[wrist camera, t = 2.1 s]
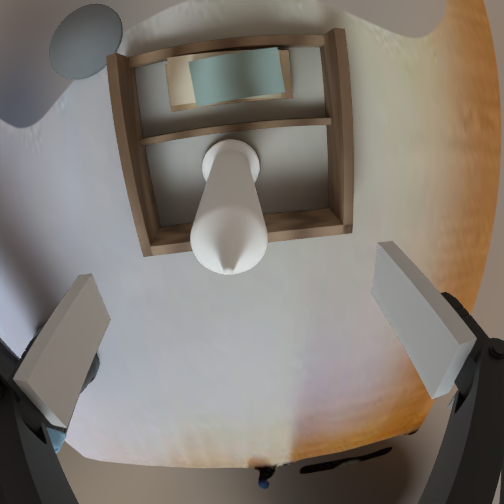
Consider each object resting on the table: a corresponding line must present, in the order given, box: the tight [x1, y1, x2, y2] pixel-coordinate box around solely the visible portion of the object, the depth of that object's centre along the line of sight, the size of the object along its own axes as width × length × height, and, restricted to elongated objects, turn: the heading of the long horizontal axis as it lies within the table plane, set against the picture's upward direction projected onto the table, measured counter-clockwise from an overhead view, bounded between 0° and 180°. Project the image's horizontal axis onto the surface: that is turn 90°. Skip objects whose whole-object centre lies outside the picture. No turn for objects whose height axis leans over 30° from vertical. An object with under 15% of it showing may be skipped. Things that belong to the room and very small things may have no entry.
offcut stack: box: [165, 47, 293, 112], centre depth 29 cm, size 14×6×6 cm, turn 95°
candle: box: [190, 139, 268, 275], centre depth 25 cm, size 7×7×25 cm
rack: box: [106, 28, 354, 257], centre depth 32 cm, size 25×24×6 cm
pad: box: [49, 4, 122, 79], centre depth 26 cm, size 11×11×1 cm
